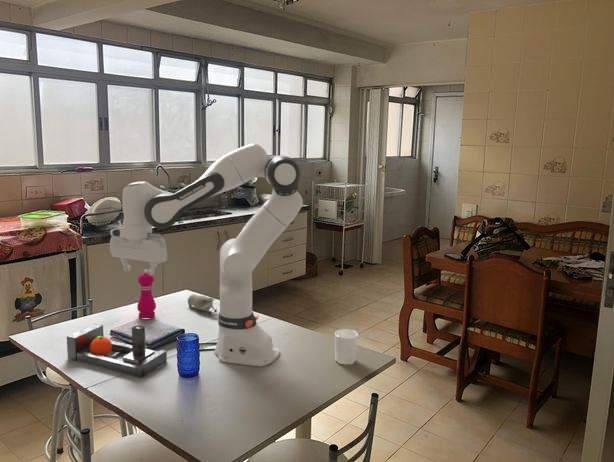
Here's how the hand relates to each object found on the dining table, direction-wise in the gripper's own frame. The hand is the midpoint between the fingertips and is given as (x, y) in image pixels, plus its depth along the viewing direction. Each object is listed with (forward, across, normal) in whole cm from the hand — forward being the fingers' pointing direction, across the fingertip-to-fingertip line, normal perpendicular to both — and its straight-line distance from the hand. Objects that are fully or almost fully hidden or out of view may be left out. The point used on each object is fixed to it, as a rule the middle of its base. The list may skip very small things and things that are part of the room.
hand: (139, 272), depth 166 cm
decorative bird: (+29, +5, -45) cm, 54 cm away
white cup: (+29, -65, -24) cm, 75 cm away
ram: (+29, -5, +8) cm, 30 cm away
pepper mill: (+29, +20, -29) cm, 46 cm away
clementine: (+29, +11, +7) cm, 32 cm away
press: (+29, +4, +7) cm, 30 cm away
